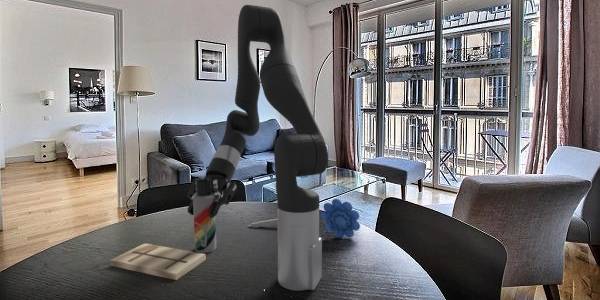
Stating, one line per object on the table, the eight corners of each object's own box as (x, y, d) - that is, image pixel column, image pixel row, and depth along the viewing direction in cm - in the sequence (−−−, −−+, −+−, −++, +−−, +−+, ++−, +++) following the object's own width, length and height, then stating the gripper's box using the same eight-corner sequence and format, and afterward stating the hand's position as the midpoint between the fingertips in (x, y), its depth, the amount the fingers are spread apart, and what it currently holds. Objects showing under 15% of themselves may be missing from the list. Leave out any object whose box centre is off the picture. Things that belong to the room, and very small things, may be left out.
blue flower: (319, 242, 98) (320, 202, 97) (321, 233, 105) (321, 196, 103) (360, 244, 97) (361, 203, 95) (359, 235, 103) (360, 197, 102)
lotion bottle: (194, 254, 90) (191, 180, 88) (195, 246, 96) (192, 176, 93) (216, 252, 92) (214, 179, 89) (216, 244, 97) (213, 175, 95)
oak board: (205, 259, 87) (205, 253, 87) (176, 280, 77) (176, 273, 77) (145, 248, 94) (144, 242, 94) (110, 265, 84) (110, 259, 84)
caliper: (310, 227, 111) (310, 208, 110) (310, 228, 110) (310, 209, 109) (248, 227, 112) (247, 208, 111) (247, 228, 110) (247, 209, 110)
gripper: (197, 155, 100) (171, 205, 90) (240, 157, 95) (217, 211, 85) (209, 169, 105) (185, 218, 96) (250, 173, 101) (229, 224, 91)
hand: (200, 214), depth 91 cm, fingers open, 6 cm apart
